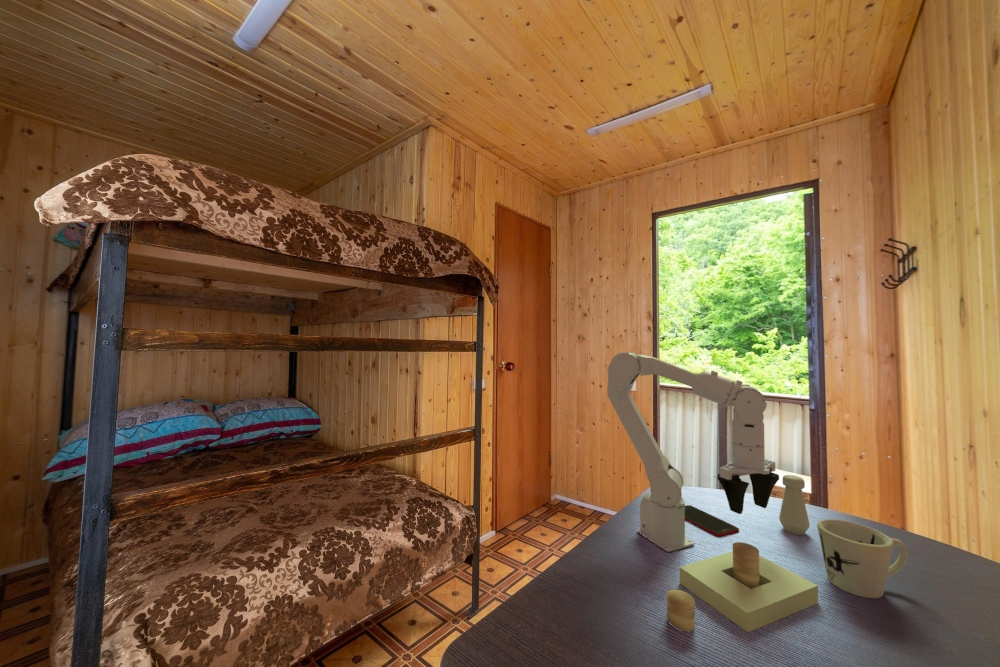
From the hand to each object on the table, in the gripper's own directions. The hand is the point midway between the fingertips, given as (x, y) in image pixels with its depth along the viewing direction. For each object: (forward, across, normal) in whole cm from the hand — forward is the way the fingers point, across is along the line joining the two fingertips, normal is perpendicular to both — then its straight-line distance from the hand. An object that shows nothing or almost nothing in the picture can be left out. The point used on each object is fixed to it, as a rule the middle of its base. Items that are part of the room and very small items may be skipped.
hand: (748, 508), depth 79 cm
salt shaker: (+11, +22, +4) cm, 25 cm away
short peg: (+10, -28, -8) cm, 31 cm away
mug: (+11, +12, -14) cm, 21 cm away
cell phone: (+11, +6, +16) cm, 20 cm away
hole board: (+10, -11, -7) cm, 17 cm away
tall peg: (+10, -11, -7) cm, 17 cm away
